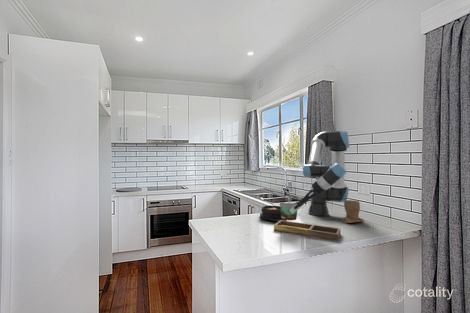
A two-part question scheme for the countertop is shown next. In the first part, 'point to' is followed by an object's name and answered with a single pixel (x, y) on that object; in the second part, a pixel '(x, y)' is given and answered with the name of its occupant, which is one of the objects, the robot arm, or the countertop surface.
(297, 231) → the walnut divided tray
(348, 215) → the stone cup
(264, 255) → the countertop surface
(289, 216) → the food container
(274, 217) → the casserole
